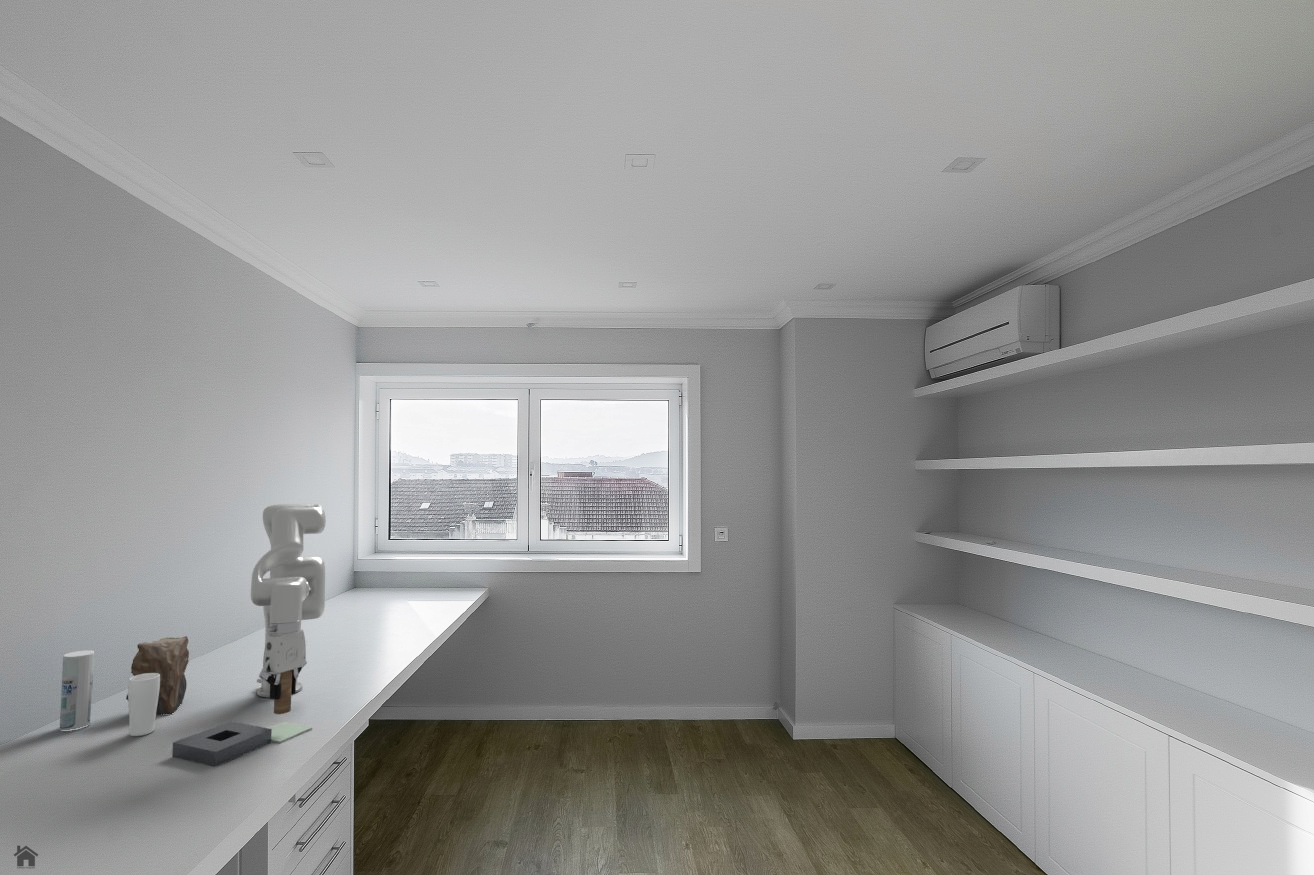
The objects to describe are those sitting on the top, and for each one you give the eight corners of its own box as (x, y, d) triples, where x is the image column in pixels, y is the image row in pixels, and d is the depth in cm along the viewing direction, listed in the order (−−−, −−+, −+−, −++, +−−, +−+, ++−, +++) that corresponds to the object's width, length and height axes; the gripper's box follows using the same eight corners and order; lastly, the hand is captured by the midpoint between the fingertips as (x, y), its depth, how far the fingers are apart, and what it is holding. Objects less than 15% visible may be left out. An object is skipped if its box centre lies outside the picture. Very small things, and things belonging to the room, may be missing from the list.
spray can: (53, 729, 177) (57, 655, 178) (81, 721, 183) (85, 649, 184) (67, 733, 175) (71, 657, 176) (95, 725, 181) (100, 651, 182)
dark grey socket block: (172, 757, 161) (172, 742, 162) (230, 734, 175) (230, 721, 176) (215, 766, 156) (215, 751, 156) (271, 742, 170) (271, 729, 170)
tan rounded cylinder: (281, 714, 174) (283, 669, 175) (270, 713, 175) (272, 667, 176) (294, 710, 178) (295, 665, 178) (283, 708, 179) (285, 663, 180)
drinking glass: (122, 740, 171) (125, 681, 172) (129, 730, 177) (132, 674, 178) (154, 735, 174) (157, 678, 175) (160, 726, 180) (162, 671, 181)
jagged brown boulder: (123, 717, 187) (127, 646, 188) (149, 701, 199) (153, 635, 200) (172, 715, 189) (175, 645, 190) (195, 699, 201) (198, 634, 202)
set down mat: (249, 737, 174) (249, 735, 174) (282, 723, 183) (282, 721, 183) (279, 743, 170) (279, 741, 170) (312, 729, 179) (312, 727, 179)
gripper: (267, 635, 169) (264, 708, 168) (321, 622, 185) (318, 688, 183) (246, 633, 171) (243, 704, 170) (301, 620, 187) (298, 685, 186)
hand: (282, 695), depth 177 cm, fingers closed on tan rounded cylinder, 4 cm apart
